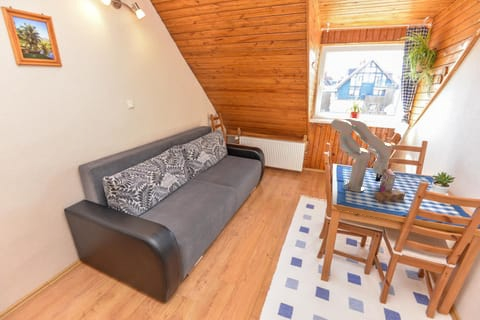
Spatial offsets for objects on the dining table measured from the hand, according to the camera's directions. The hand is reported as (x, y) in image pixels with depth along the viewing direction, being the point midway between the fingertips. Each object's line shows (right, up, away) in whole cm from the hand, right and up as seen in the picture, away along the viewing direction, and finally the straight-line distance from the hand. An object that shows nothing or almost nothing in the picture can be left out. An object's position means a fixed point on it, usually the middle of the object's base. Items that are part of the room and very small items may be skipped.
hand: (377, 181), depth 174 cm
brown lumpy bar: (-2, -11, -16) cm, 20 cm away
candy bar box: (+1, -7, -7) cm, 10 cm away
